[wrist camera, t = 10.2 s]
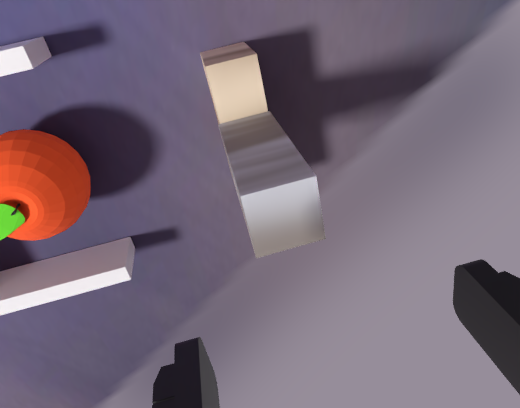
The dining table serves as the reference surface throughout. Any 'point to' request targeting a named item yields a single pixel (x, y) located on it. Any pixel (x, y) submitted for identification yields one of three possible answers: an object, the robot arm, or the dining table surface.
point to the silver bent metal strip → (261, 156)
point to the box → (67, 265)
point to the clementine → (40, 185)
